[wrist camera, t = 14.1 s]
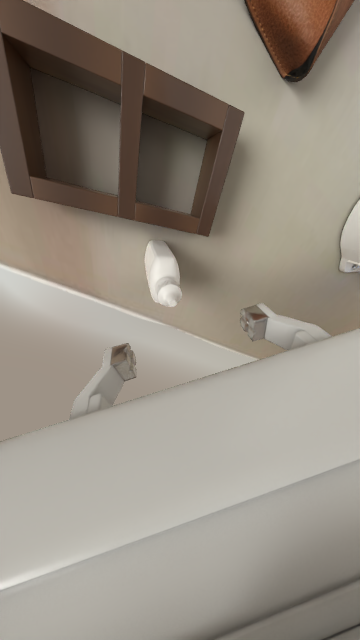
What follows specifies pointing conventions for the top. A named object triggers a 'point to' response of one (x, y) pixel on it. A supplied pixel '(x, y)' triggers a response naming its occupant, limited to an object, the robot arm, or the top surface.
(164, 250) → the eye dropper bottle
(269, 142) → the top surface
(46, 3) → the top surface
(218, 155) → the stand
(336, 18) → the sunglasses case
